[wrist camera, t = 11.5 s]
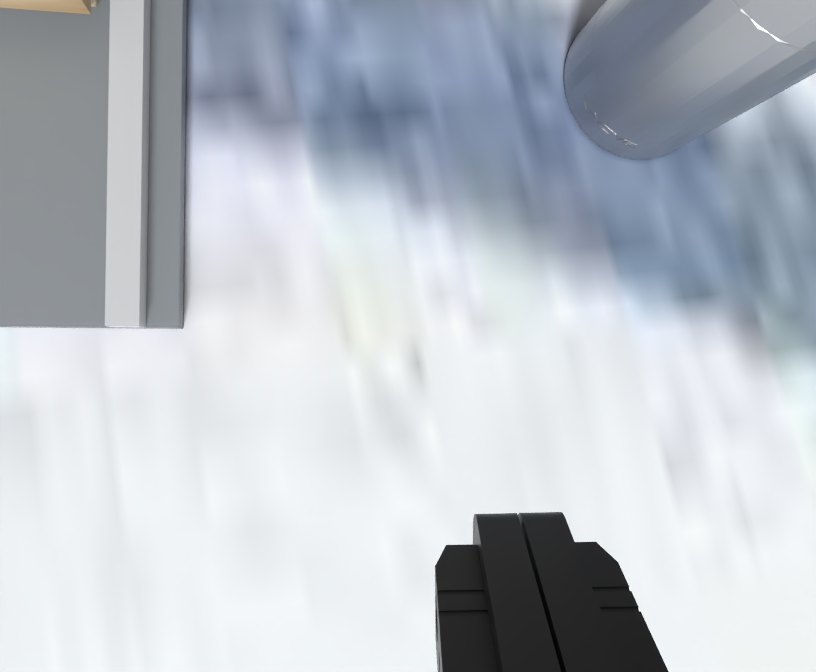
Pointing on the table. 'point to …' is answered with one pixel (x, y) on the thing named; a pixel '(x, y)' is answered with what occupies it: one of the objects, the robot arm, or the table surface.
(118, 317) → the roller track
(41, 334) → the table surface
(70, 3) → the wood grain cube
